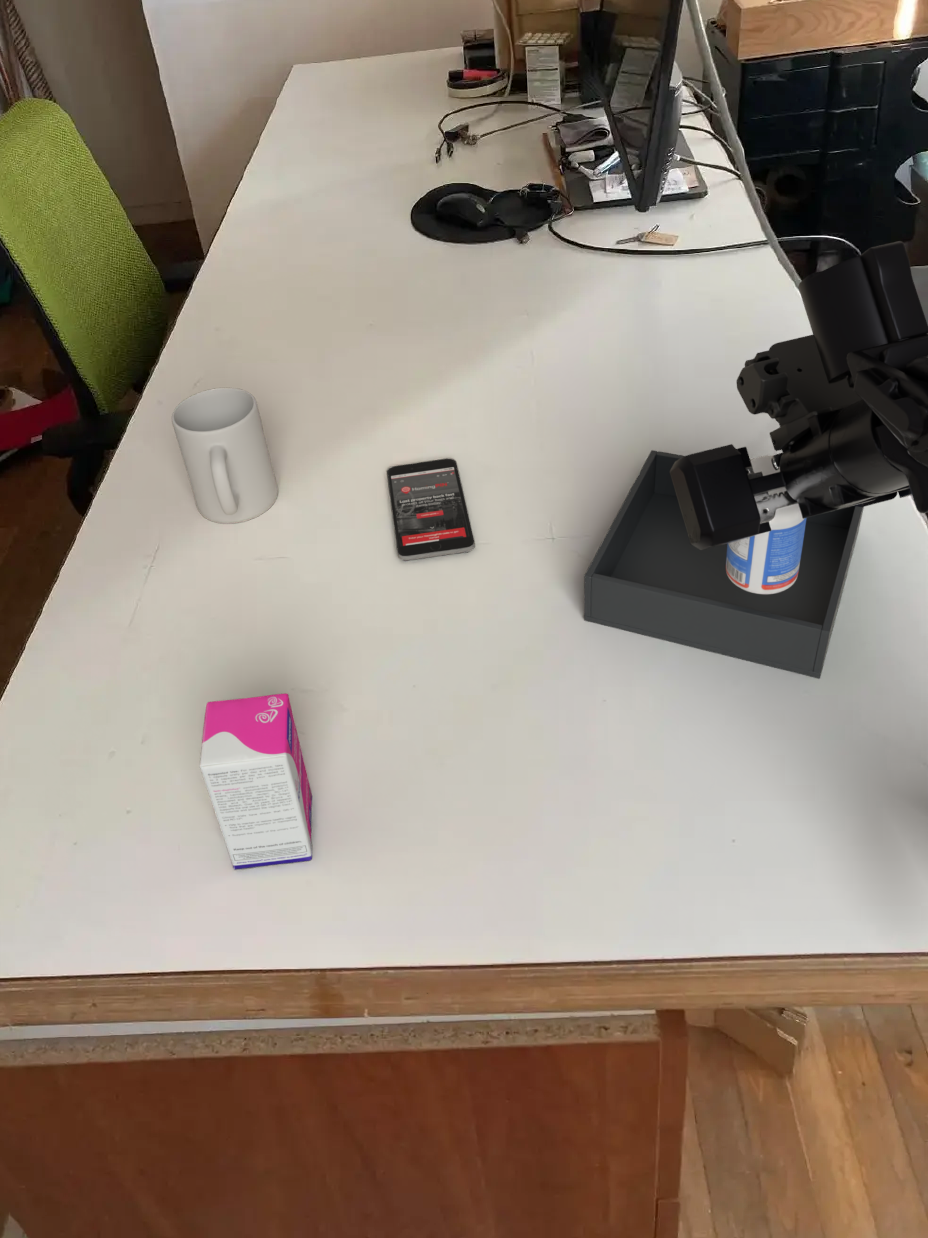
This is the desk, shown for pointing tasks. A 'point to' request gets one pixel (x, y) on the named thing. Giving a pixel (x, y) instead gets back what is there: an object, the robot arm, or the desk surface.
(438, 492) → the smartphone
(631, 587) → the dark grey storage tray
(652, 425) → the desk surface
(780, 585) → the pill bottle
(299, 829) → the supplement box
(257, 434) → the mug
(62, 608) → the desk surface
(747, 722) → the desk surface
